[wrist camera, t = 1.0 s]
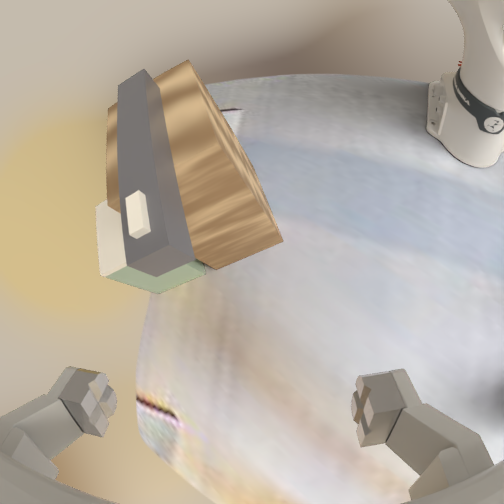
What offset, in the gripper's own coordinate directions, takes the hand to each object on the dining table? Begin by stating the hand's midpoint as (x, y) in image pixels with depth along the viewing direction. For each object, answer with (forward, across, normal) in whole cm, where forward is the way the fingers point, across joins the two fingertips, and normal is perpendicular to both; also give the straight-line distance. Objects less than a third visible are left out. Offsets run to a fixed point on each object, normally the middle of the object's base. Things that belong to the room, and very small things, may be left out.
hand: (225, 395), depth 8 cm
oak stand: (+44, +4, +5) cm, 44 cm away
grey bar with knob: (+20, +8, -6) cm, 23 cm away
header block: (+42, +15, +11) cm, 47 cm away
